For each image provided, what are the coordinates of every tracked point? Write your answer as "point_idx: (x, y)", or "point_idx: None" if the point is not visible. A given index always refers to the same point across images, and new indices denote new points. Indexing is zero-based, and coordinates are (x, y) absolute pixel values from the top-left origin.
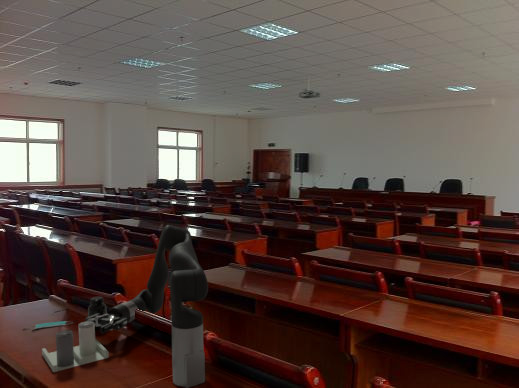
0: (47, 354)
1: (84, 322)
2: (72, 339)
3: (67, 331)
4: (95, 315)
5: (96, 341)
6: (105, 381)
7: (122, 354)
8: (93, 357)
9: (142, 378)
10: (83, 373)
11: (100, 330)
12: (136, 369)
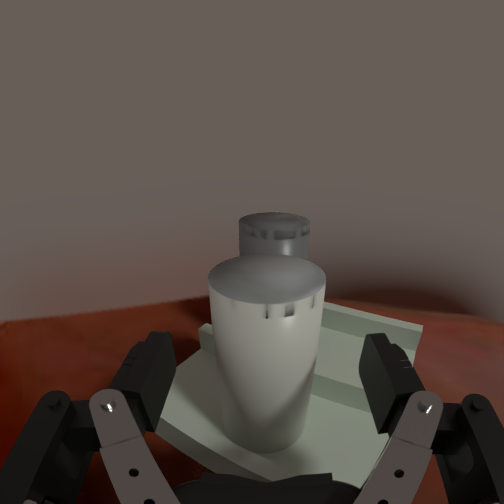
0: (356, 313)
1: (307, 282)
2: (241, 254)
3: (276, 226)
4: (497, 490)
5: (275, 472)
6: (94, 317)
7: (90, 470)
8: (196, 393)
9: (11, 334)
10: (176, 333)
11: (171, 347)
12: (21, 366)
